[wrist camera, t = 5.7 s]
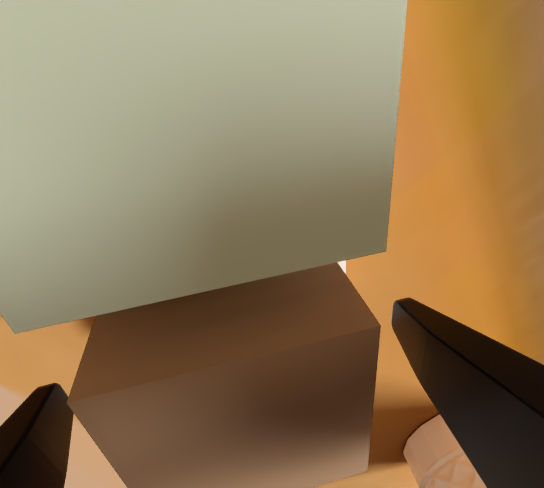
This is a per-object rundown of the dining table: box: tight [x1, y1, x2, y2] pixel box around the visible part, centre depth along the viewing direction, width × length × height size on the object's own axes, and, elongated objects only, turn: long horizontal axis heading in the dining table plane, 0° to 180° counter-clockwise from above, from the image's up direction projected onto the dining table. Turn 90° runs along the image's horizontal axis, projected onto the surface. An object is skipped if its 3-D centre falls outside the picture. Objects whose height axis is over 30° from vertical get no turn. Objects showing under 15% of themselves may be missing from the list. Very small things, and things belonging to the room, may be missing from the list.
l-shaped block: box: [0, 0, 407, 334], centre depth 8 cm, size 12×8×7 cm, turn 6°
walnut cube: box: [67, 262, 381, 488], centre depth 9 cm, size 5×5×5 cm
